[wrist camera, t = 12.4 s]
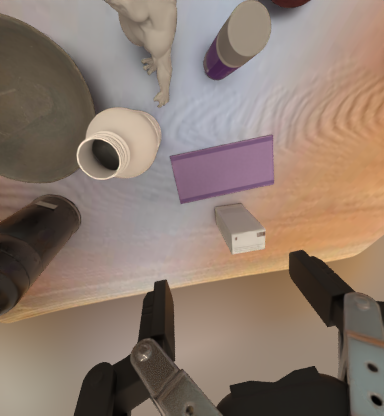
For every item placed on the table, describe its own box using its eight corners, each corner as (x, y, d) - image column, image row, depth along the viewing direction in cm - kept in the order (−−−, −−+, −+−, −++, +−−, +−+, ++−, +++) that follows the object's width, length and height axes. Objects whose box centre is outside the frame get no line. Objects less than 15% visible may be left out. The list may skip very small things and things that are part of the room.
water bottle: (147, 102, 35) (108, 78, 13) (169, 140, 38) (170, 177, 15) (112, 124, 36) (17, 139, 13) (136, 160, 39) (91, 222, 16)
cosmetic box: (215, 223, 46) (230, 257, 35) (214, 205, 45) (229, 234, 33) (242, 219, 47) (265, 251, 36) (242, 201, 45) (266, 229, 34)
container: (220, 86, 36) (252, 68, 22) (197, 68, 34) (217, 36, 20) (236, 59, 34) (282, 22, 21) (214, 39, 33) (246, -16, 19)
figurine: (112, -31, 28) (37, -229, 12) (161, -37, 29) (152, -238, 12) (143, 112, 36) (122, 109, 20) (181, 106, 36) (192, 98, 20)
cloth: (180, 203, 44) (180, 204, 43) (169, 156, 39) (169, 156, 39) (273, 183, 44) (274, 184, 44) (272, 134, 40) (273, 134, 39)
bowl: (-16, 20, 29) (-100, -24, 20) (121, 67, 33) (103, 49, 24) (-7, 151, 36) (-66, 163, 27) (106, 178, 40) (87, 196, 31)
